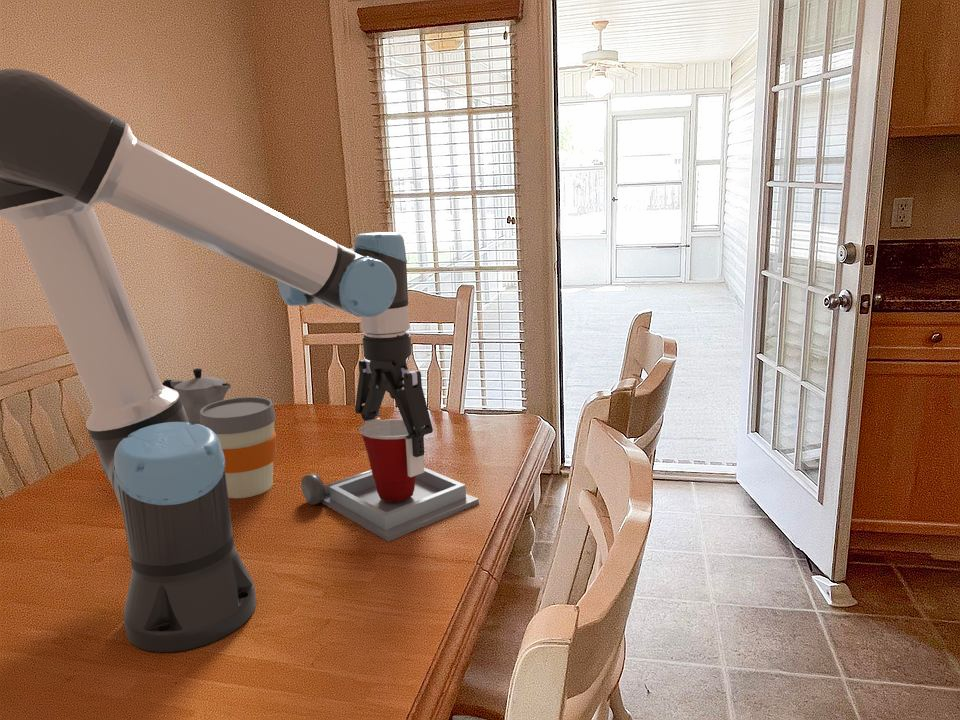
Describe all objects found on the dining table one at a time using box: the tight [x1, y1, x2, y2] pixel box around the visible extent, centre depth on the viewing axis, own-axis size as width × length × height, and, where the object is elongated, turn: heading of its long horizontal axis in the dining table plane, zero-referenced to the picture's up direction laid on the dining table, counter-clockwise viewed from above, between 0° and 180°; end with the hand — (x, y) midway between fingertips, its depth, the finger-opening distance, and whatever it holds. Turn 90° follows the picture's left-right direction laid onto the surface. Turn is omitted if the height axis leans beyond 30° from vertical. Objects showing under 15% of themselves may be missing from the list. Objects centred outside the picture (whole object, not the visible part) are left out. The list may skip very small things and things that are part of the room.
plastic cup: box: [358, 418, 425, 502], centre depth 117 cm, size 11×11×12 cm
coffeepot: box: [161, 368, 232, 425], centre depth 142 cm, size 15×9×18 cm, turn 79°
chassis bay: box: [300, 466, 480, 543], centre depth 119 cm, size 21×23×5 cm
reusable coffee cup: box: [200, 396, 277, 499], centre depth 125 cm, size 13×12×15 cm
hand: (395, 465), depth 117 cm, fingers closed on plastic cup, 11 cm apart
